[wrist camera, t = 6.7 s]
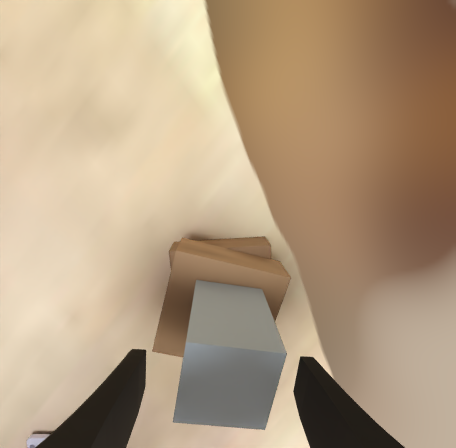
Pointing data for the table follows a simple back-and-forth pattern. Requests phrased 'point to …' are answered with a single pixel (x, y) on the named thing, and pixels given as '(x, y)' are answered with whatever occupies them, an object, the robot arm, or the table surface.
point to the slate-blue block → (229, 358)
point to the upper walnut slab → (212, 272)
